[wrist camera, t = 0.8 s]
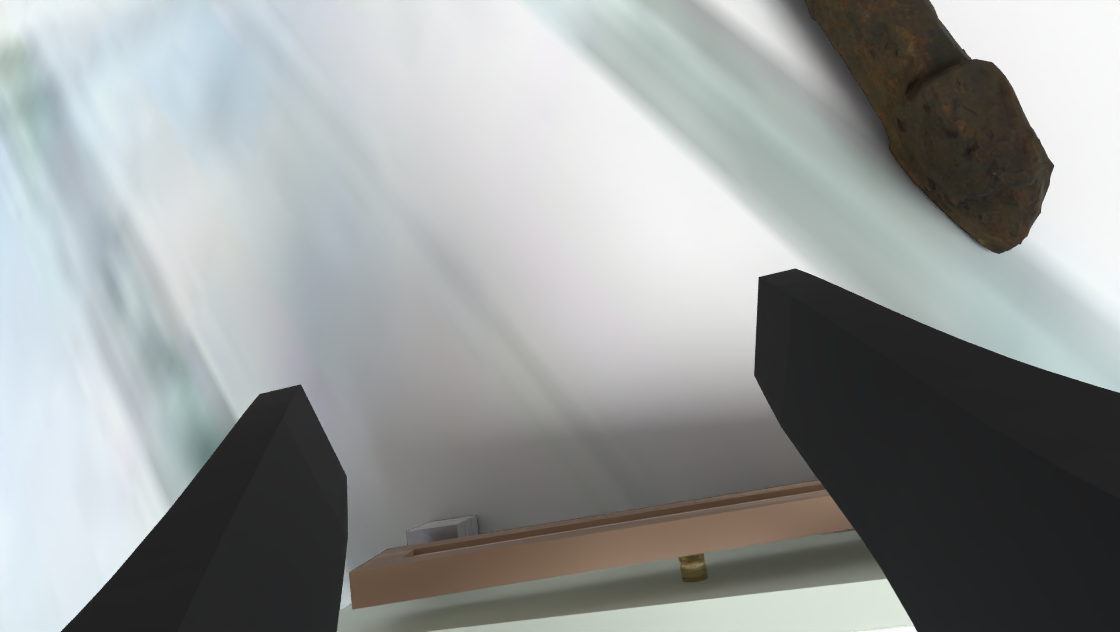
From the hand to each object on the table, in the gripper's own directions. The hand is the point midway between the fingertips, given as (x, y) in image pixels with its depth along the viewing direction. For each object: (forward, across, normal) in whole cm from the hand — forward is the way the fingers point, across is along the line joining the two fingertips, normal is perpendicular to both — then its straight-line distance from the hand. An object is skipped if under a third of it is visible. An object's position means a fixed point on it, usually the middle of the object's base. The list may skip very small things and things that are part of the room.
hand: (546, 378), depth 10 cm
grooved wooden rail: (+6, -4, +12) cm, 14 cm away
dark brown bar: (+17, -17, +2) cm, 24 cm away
